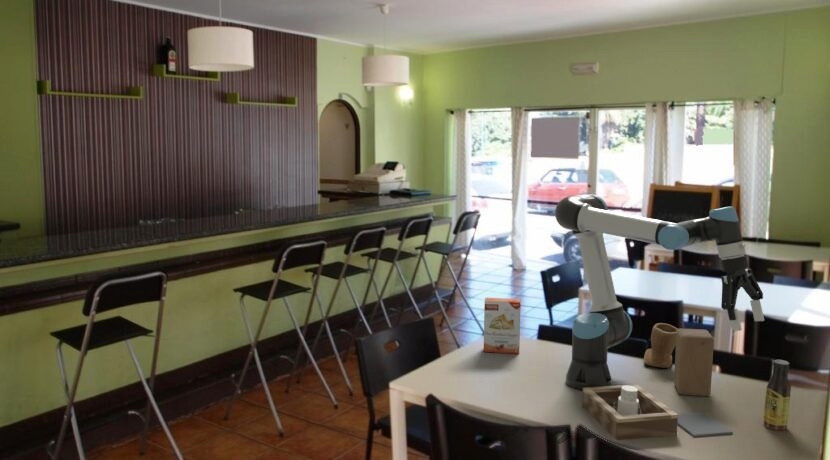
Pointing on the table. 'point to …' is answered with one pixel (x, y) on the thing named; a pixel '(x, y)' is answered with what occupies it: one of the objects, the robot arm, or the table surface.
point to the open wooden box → (629, 426)
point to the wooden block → (693, 362)
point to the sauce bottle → (777, 397)
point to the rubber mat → (701, 424)
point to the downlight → (628, 401)
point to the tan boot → (661, 345)
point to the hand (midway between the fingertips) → (748, 325)
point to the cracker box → (502, 325)
